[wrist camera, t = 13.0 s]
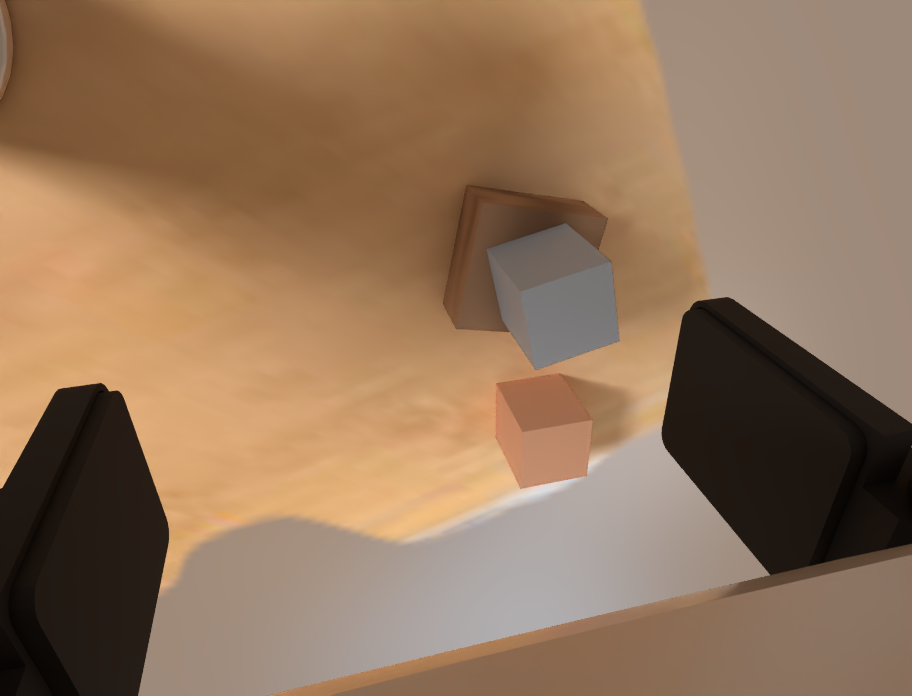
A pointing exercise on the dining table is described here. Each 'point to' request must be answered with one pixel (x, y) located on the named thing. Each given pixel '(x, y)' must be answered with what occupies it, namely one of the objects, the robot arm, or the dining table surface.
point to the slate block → (555, 294)
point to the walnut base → (494, 223)
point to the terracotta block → (542, 430)
